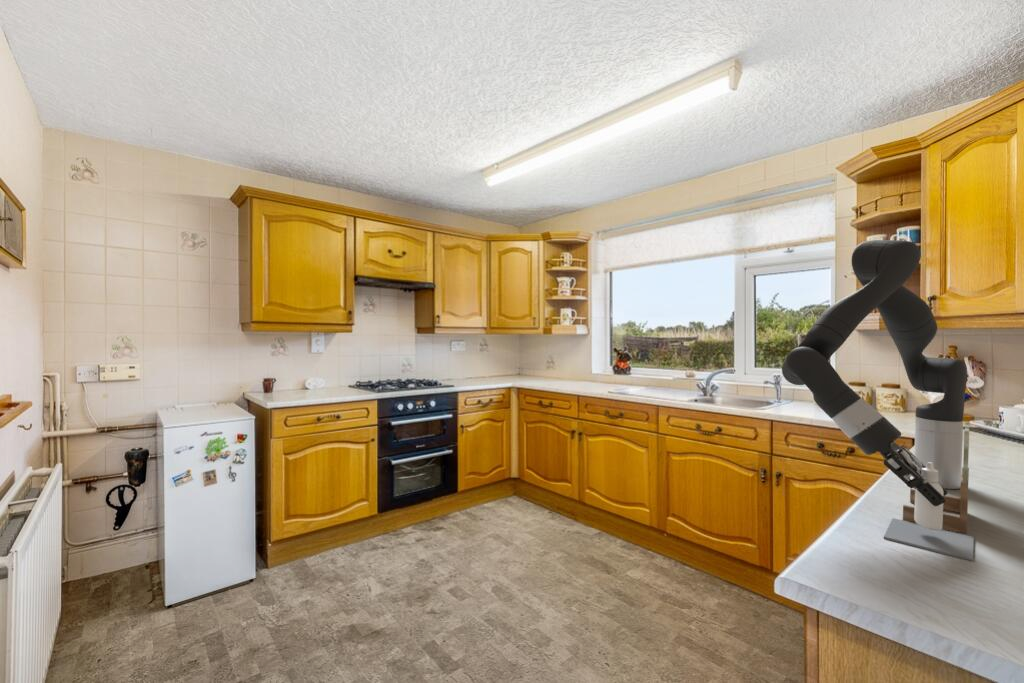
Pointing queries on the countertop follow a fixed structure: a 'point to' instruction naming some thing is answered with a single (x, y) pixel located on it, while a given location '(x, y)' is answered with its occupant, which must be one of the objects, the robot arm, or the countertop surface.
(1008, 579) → the countertop surface
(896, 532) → the slate mat
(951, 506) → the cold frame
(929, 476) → the eye dropper bottle
